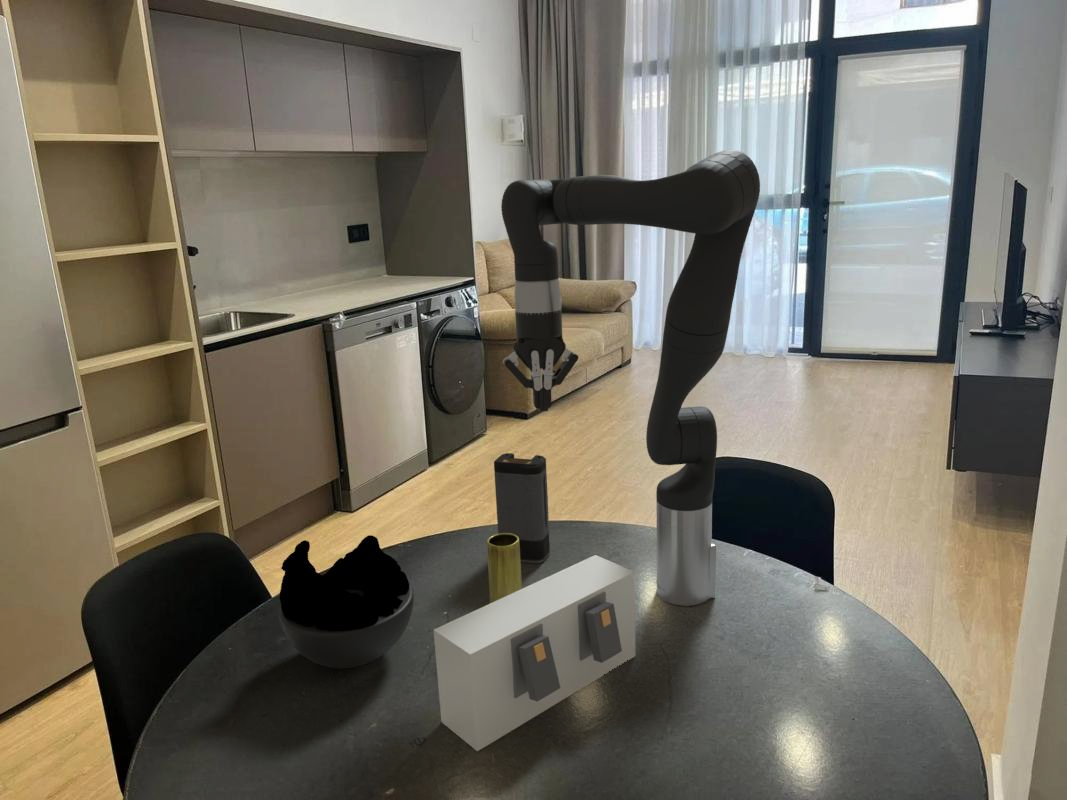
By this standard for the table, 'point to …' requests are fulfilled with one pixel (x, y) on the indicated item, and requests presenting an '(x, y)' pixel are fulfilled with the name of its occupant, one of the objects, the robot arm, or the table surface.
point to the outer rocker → (539, 667)
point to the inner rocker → (603, 632)
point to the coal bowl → (345, 605)
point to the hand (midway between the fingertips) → (542, 410)
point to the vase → (503, 565)
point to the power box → (502, 626)
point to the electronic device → (523, 504)
